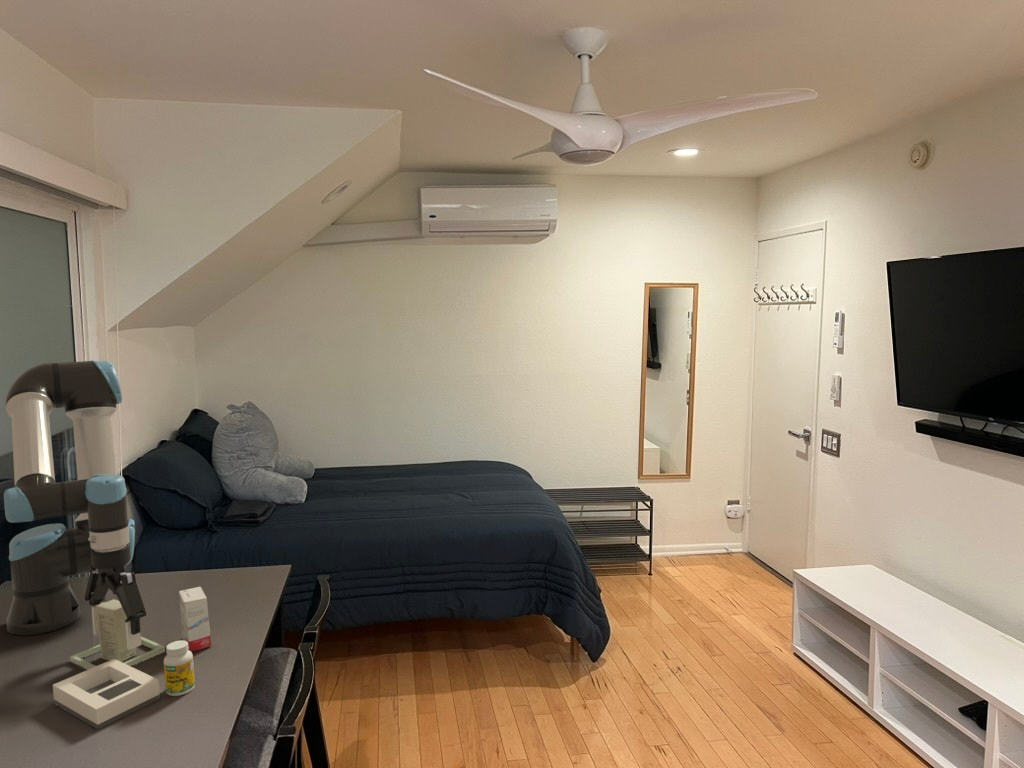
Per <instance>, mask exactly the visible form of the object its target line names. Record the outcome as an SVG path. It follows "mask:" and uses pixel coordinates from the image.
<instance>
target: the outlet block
mask: <svg viewBox="0 0 1024 768" xmlns="http://www.w3.org/2000/svg"><path fill="white" fill-rule="evenodd" d="M95 666H96V667H93V668H91V669H89V670H86V669H85V670H84V671H82V672H79V673H77V674H75V675H72V676H70V677H68V678H66V679H63V680H61V681H58V682H56V683H53V684H52V692H53V693H52V694H53V705H55V704H57V705H58V706H60V707H61V708H60V707H59V708H60V709H62V708H63V709H62V710H64V709H65V710H66V712H67V711H68V712H67V713H68V714H70V713H71V715H72V716H74V717H76V718H77V719H79V720H81V721H82V722H84V723H86V724H88V725H89V726H91V727H93V728H94V729H96V730H97V731H98V730H101V729H103V728H105V727H106V726H109V725H111V724H113V723H115V722H116V721H117V722H118V721H119V720H121V719H123V718H124V717H126V716H128V715H130V714H133V713H135V712H137V711H138V710H140V709H142V708H145V707H146V706H148V705H151V704H153V703H154V702H156V701H159V700H160V699H161V696H160V695H161V694H160V682H159V680H160V679H158V678H155V677H153V676H151V675H149V674H148V673H146V672H143V671H141V670H139V669H137V668H135V667H134V666H132V667H131V666H129V665H127V664H124V662H120V661H118V660H116V659H112V660H110V661H109V660H106V661H105V662H103V663H101V664H98V665H95ZM57 705H56V706H57ZM58 706H57V707H58ZM65 710H64V711H65Z"/></svg>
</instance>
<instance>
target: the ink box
mask: <svg viewBox="0 0 1024 768" xmlns="http://www.w3.org/2000/svg"><path fill="white" fill-rule="evenodd" d="M178 594H179V606H180V607H179V608H180V620H181V621H180V622H181V633H182V641H187V642H188V647H189V648H188V650H189V651H190V652H191V653H193V652H196V650H197V651H201V650H203V649H206V648H209V647H212V641H211V631H210V623H209V622H210V620H209V611H208V600H207V599H208V597H207V596H206V595H205V593H204V590H203V588H202V587H201V586H196V587H192V588H191V587H190V588H188V589H182V590H179V591H178ZM192 651H193V652H192Z"/></svg>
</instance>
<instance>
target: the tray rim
mask: <svg viewBox="0 0 1024 768" xmlns="http://www.w3.org/2000/svg"><path fill="white" fill-rule="evenodd" d="M141 646H144V647H146V648H150V649H151V650H149V651H147V652H144V653H143V654H140V655H139V656H136V657H134V658H131V659H130V660H129V659H128V660H126V661H125V662H124V661H123V663H124V664H127V665H129V666H132V665H134V666H136V665H138V664H137V663H139V662H141V661H143V662H145V661H148V660H150V659H152V658H154V657H156V655H157V656H159V655H161V654H163V653H165V652H166V646H164V645H162V644H161V643H157V642H155V641H153V640H150V639H148V638H145V637H143V636H141ZM99 652H101V648H100V644H98V645H95V646H92V647H91V648H90V647H89V648H87V649H85V650H83V651H81V652H78V653H77V652H76V653H75V654H72V655H70V656H69V661H72V662H75V663H76V664H78V665H80V666H82V667H84V668H85V669H84V668H83V669H84V670H86V669H87V670H89V669H91V668H93V667H96V666H97V665H95V664H93V663H91V662H88V661H87V660H84V658H83V657H85V658H87V657H89V656H91V655H94V654H97V653H99ZM153 656H154V657H153ZM151 657H152V658H151ZM81 658H82V659H81ZM149 658H150V659H149ZM147 659H148V660H147ZM144 660H145V661H144ZM72 662H71V663H72ZM141 663H142V662H141ZM76 664H75V665H76ZM135 664H136V665H135ZM139 664H140V663H139ZM78 665H77V666H78ZM80 666H79V667H80ZM82 667H81V668H82ZM132 667H133V666H132Z"/></svg>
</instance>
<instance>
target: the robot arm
mask: <svg viewBox="0 0 1024 768" xmlns="http://www.w3.org/2000/svg"><path fill="white" fill-rule="evenodd" d="M118 376H119V375H118V373H117V370H116V367H115V366H114V364H113V363H112V362H110V361H108V360H107V361H106V360H83V361H69V362H68V361H67V362H66V361H65V362H45V363H40V364H36V365H35V366H32V367H30V368H28V369H27V370H25V371H24V372H23V373H21V374H20V375H19V376H18V377H17V378H16V379H15V381H13V383H12V385H10V387H9V390H8V392H7V395H6V398H5V410H6V414H7V415H8V416H9V418H11V432H12V453H13V455H12V457H13V473H14V474H13V475H14V478H13V479H14V487H11V488H7V489H5V491H4V493H3V501H4V502H3V504H4V514H5V519H6V521H7V522H8V523H11V524H12V523H13V524H14V523H24V522H33V521H37V520H38V521H39V520H43V519H45V520H46V519H51V518H56V517H63V516H73V515H78V516H77V517H76V518H75V520H74V525H75V526H74V528H73V527H72V528H68V529H67V527H66V526H65V525H64V524H63V523H58V522H57V523H49V524H43V525H39V526H35V527H32V528H29V529H26V530H25V531H22V532H20V533H18V534H16V535H15V536H14V537H12V539H11V540H10V542H9V546H8V548H9V555H8V560H9V561H10V572H11V574H10V575H11V586H12V601H11V604H10V608H9V611H8V614H7V618H6V631H7V632H8V633H10V634H11V635H14V634H15V636H34V635H40V634H46V633H50V632H53V631H56V630H59V629H63V628H64V627H66V626H69V625H71V624H72V623H74V622H77V620H78V619H79V618H80V617H81V606H80V603H79V601H78V599H77V598H76V596H75V593H74V592H73V589H72V587H71V584H70V583H71V582H70V577H73V576H79V575H84V574H89V577H88V581H87V586H86V589H85V594H84V600H85V602H88V604H89V606H91V617H92V630H93V631H92V632H93V635H94V636H96V635H99V628H98V618H97V608H96V606H98V605H100V604H103V603H105V601H106V602H107V600H106V595H107V593H108V591H111V593H112V594H113V595H115V596H116V597H117V600H119V602H120V604H121V606H122V608H123V610H124V612H125V614H126V616H127V619H126V620H125V624H126V638H127V649H128V650H131V649H133V648H136V649H137V648H138V647H140V646H142V644H141V637H142V634H141V633H142V632H141V618H143V617H146V616H147V612H146V609H145V608H146V607H145V605H144V603H143V599H142V597H141V593H140V590H139V586H138V585H137V578H136V573H135V571H130V572H127V571H126V566H128V565H129V564H130V563H131V562H132V560H133V557H134V552H135V551H134V550H135V539H136V537H135V536H136V535H135V531H136V530H135V520H134V519H131V518H128V504H127V502H128V501H127V500H128V499H127V494H128V492H127V491H128V490H127V487H126V480H125V478H124V476H122V475H120V474H119V475H118V474H117V467H116V465H117V464H116V458H115V457H116V455H115V446H114V436H113V435H114V433H113V427H112V425H113V424H112V416H113V415H114V414H115V413H116V412H117V410H118V408H117V405H120V404H121V403H122V402H123V396H122V388H121V383H120V380H119V377H118ZM61 408H62V409H63V408H64V411H65V412H64V413H65V414H64V415H65V416H67V417H68V418H69V419H70V420H72V424H73V435H74V446H75V457H76V458H75V459H76V468H77V471H76V472H77V479H76V480H68V481H61V482H56V478H55V477H56V474H55V467H54V465H55V464H54V457H53V456H54V454H53V443H52V435H51V434H52V433H51V423H50V415H51V413H52V412H53V409H61Z"/></svg>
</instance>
